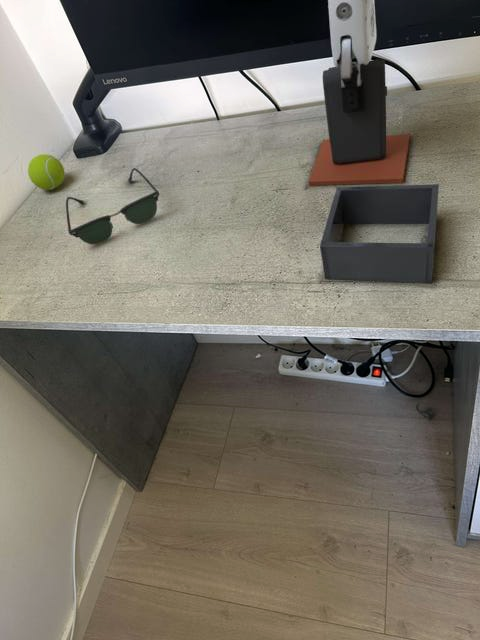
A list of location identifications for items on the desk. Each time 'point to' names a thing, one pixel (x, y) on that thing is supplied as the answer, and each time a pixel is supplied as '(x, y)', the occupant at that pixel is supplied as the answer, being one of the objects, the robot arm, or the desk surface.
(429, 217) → the grey open bin
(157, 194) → the sunglasses
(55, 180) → the tennis ball
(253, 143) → the desk surface
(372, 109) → the card reader
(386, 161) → the mat
